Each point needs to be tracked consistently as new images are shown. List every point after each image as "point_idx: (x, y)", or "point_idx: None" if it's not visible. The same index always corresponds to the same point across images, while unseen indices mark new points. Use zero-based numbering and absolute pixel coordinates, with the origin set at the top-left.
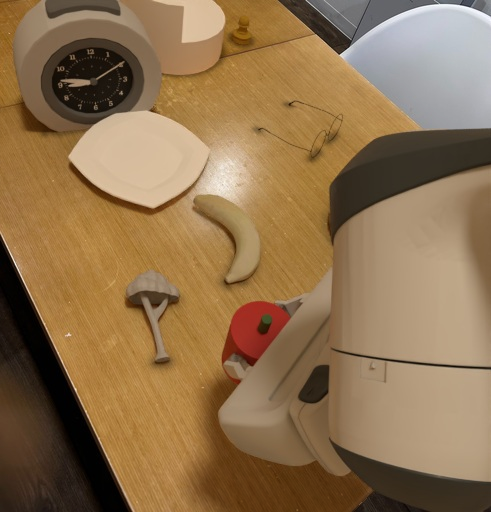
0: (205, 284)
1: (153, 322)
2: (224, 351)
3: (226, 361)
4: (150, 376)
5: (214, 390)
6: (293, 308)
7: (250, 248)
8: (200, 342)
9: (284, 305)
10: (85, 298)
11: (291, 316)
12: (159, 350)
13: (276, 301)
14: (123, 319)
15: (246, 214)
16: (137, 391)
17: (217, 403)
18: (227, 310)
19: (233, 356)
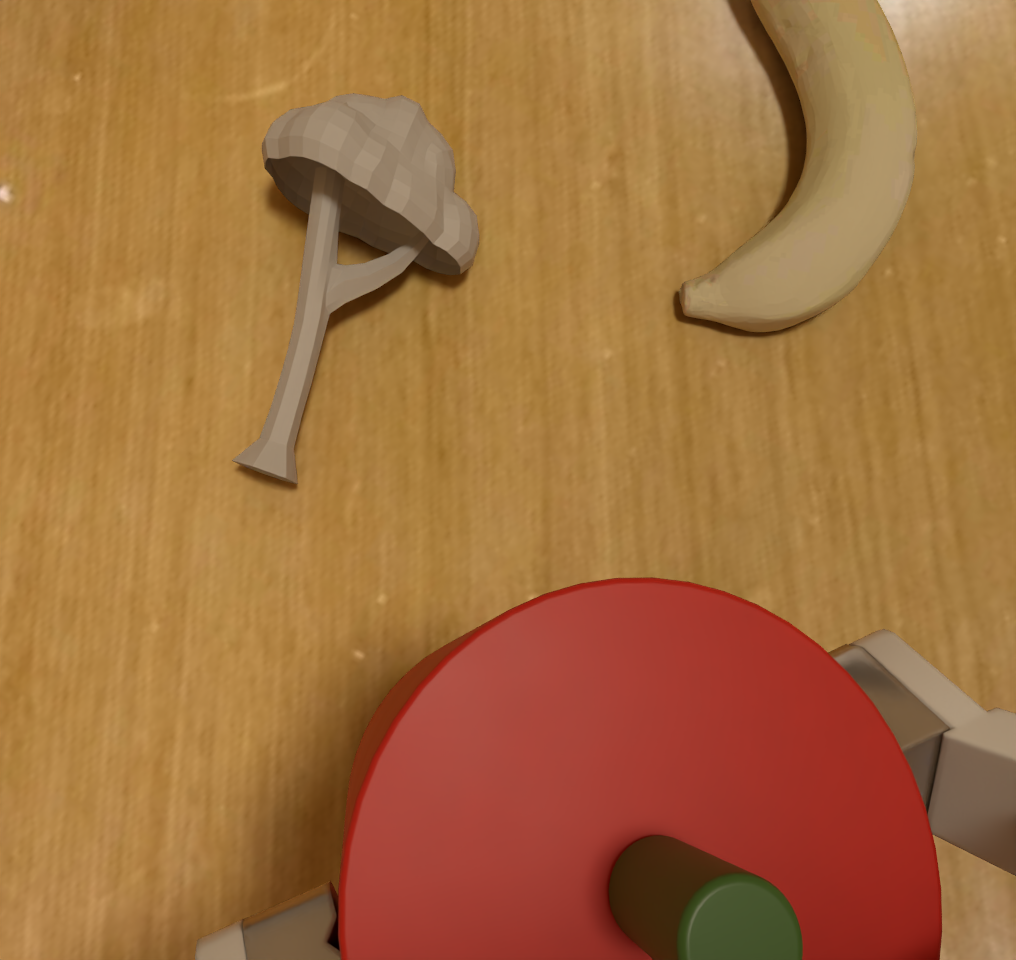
0: (598, 273)
1: (304, 312)
2: (369, 731)
3: (230, 943)
4: (194, 507)
5: None
6: (996, 799)
7: (847, 222)
8: (451, 479)
9: (940, 737)
10: (140, 93)
11: (932, 819)
12: (268, 432)
13: (886, 645)
14: (226, 242)
15: (909, 81)
16: (113, 537)
17: None
18: (621, 413)
19: (300, 943)
